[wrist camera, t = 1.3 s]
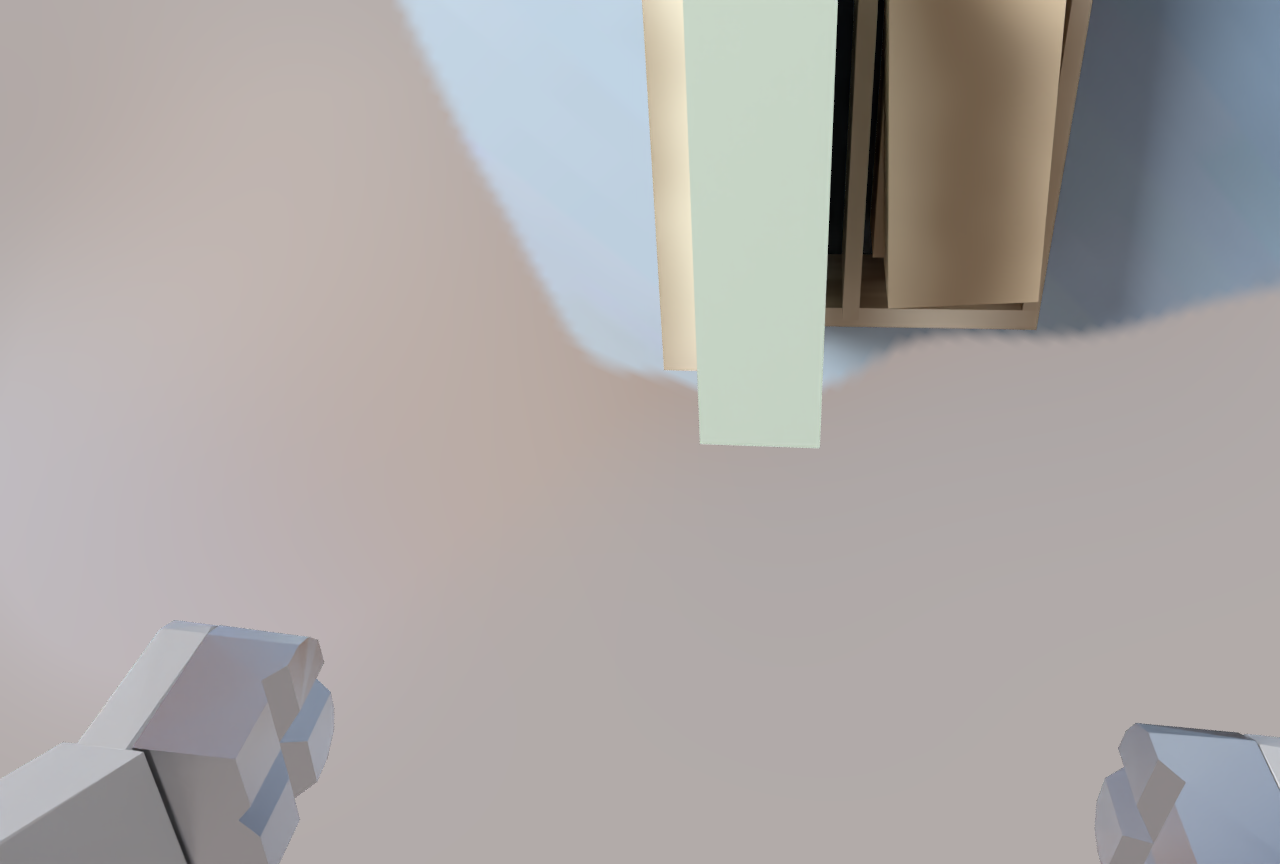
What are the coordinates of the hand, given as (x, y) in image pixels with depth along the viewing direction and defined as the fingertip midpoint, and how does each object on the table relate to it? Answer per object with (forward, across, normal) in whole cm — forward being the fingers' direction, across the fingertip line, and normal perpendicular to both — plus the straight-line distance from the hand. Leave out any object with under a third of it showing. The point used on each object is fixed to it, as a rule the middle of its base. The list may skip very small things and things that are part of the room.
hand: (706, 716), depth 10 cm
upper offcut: (+30, -7, +1) cm, 31 cm away
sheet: (+34, -1, +2) cm, 34 cm away
